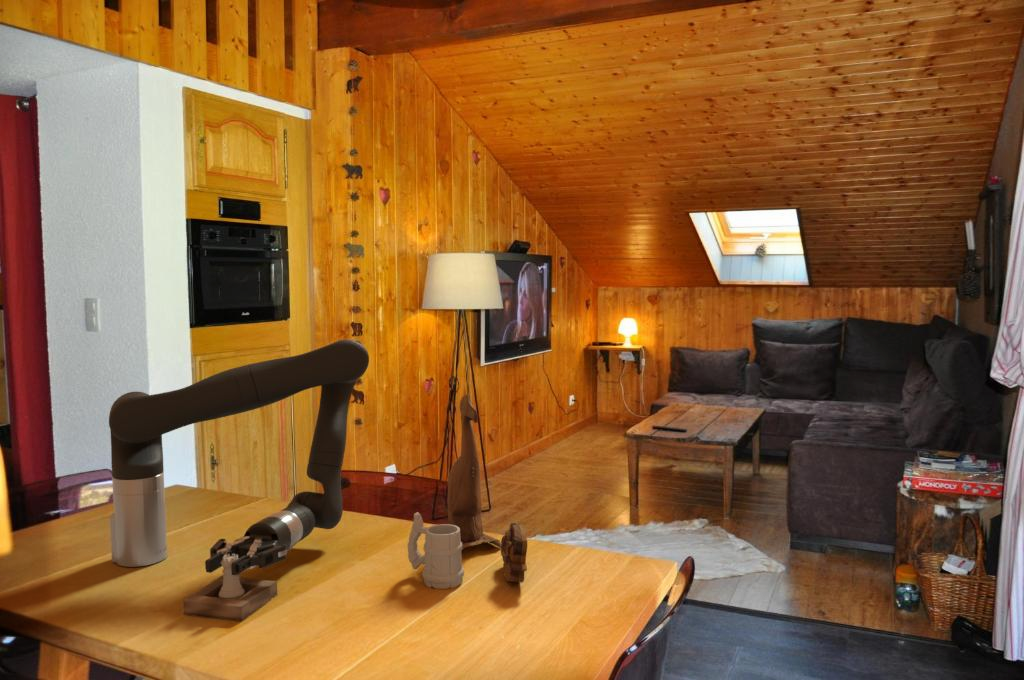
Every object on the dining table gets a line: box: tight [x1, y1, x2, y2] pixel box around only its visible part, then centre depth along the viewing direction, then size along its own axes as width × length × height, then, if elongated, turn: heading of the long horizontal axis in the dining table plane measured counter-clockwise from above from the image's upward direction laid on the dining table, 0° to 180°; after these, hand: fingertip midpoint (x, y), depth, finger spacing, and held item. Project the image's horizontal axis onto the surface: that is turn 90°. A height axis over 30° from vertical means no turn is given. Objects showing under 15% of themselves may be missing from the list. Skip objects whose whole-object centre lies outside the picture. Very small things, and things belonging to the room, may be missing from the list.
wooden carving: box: [500, 522, 528, 583], centre depth 150 cm, size 16×5×10 cm, turn 12°
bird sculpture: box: [447, 394, 501, 550], centre depth 166 cm, size 11×12×32 cm
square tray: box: [182, 575, 278, 622], centre depth 139 cm, size 11×11×2 cm
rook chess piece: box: [218, 554, 245, 600], centre depth 139 cm, size 4×4×8 cm
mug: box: [407, 511, 465, 590], centre depth 150 cm, size 8×12×12 cm, turn 59°
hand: (220, 568), depth 136 cm, fingers open, 4 cm apart
